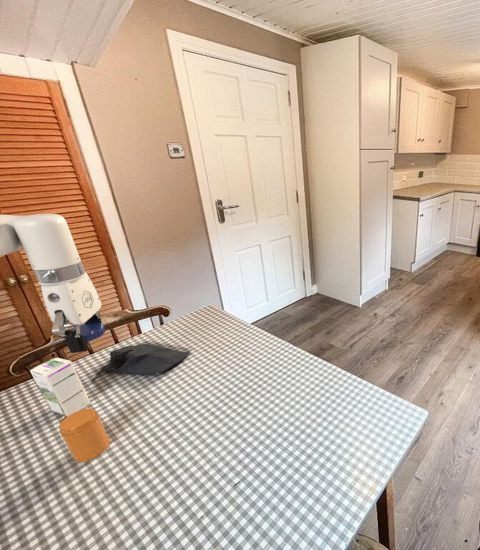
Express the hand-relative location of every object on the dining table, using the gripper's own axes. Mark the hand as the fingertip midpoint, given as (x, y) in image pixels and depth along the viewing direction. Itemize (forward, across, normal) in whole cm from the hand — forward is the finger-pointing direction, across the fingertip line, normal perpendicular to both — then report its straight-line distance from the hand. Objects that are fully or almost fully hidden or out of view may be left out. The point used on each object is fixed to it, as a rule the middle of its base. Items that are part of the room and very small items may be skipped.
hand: (89, 341), depth 72 cm
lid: (-3, 0, 0) cm, 3 cm away
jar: (+22, -12, +1) cm, 25 cm away
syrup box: (+22, +4, +12) cm, 25 cm away
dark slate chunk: (+22, +20, -1) cm, 30 cm away
